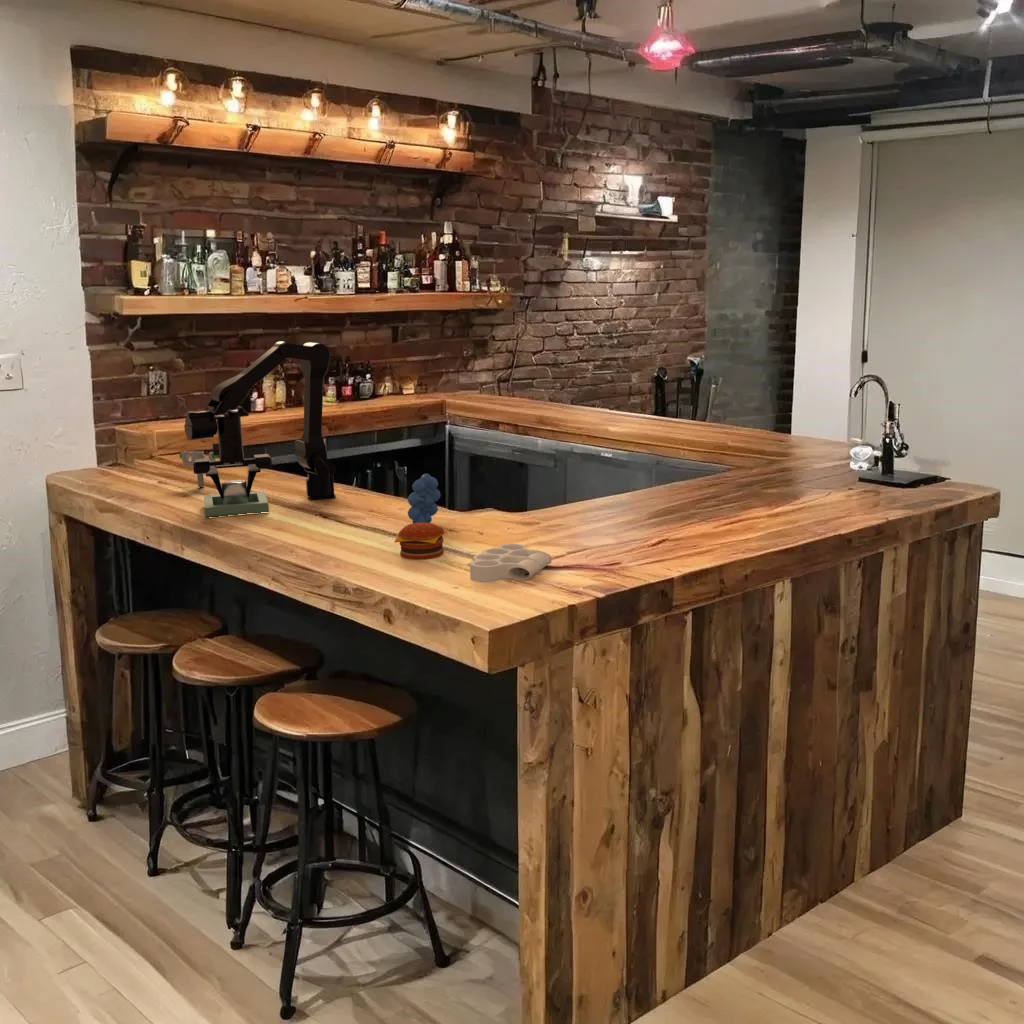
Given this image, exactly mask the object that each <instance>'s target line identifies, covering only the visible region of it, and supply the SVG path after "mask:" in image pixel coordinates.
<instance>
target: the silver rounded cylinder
mask: <svg viewBox="0 0 1024 1024" xmlns="http://www.w3.org/2000/svg"><path fill="white" fill-rule="evenodd" d="M221 487H222V492H223V503H224V504H227V505H228V504H240V503H246V502H248V497H247V480H244V479H231V480H225V481H223V482H221Z"/></svg>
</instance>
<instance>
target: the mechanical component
mask: <svg viewBox="0 0 1024 1024" xmlns="http://www.w3.org/2000/svg"><path fill="white" fill-rule="evenodd" d="M204 452H205V451H203V450H185V451H181V452H179V458H180V459H181V461H182V465H183V466H185V467H193V461H194V460H195V459H205V458H209V462H211V461H216V460H217V458H218V457H214V455H213V451H210V452H209V453H208V456H206V454H204ZM196 479H197V488H198V487H203V486H204V487H205V481H204V473H201V474H196ZM204 487H203V488H204Z"/></svg>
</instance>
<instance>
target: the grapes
mask: <svg viewBox="0 0 1024 1024" xmlns="http://www.w3.org/2000/svg"><path fill="white" fill-rule="evenodd" d="M438 486H439V482H438V480H437V478H436V477H434V476H431V475H430V473H424V474H423V475H421V476H420V478H418V479H416V480H415V481H414V482H413V483H412V490H413V492H411V493H410V494H409V495H408V497H407V502H408V504H409V506H411V507H410V508H409V509H408V511H407V517H408V518H409V519H410V520H412V521H411V522H412V524H413V523H420V522H426V523H432V521H433V520H432V519H433V518H432V516H435V515H436V514H437V513H438V511H439V508H438V505H437V504H436V502H437V501H438V500H439V499H440V498H441V492H440V490H439V489H438Z"/></svg>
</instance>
